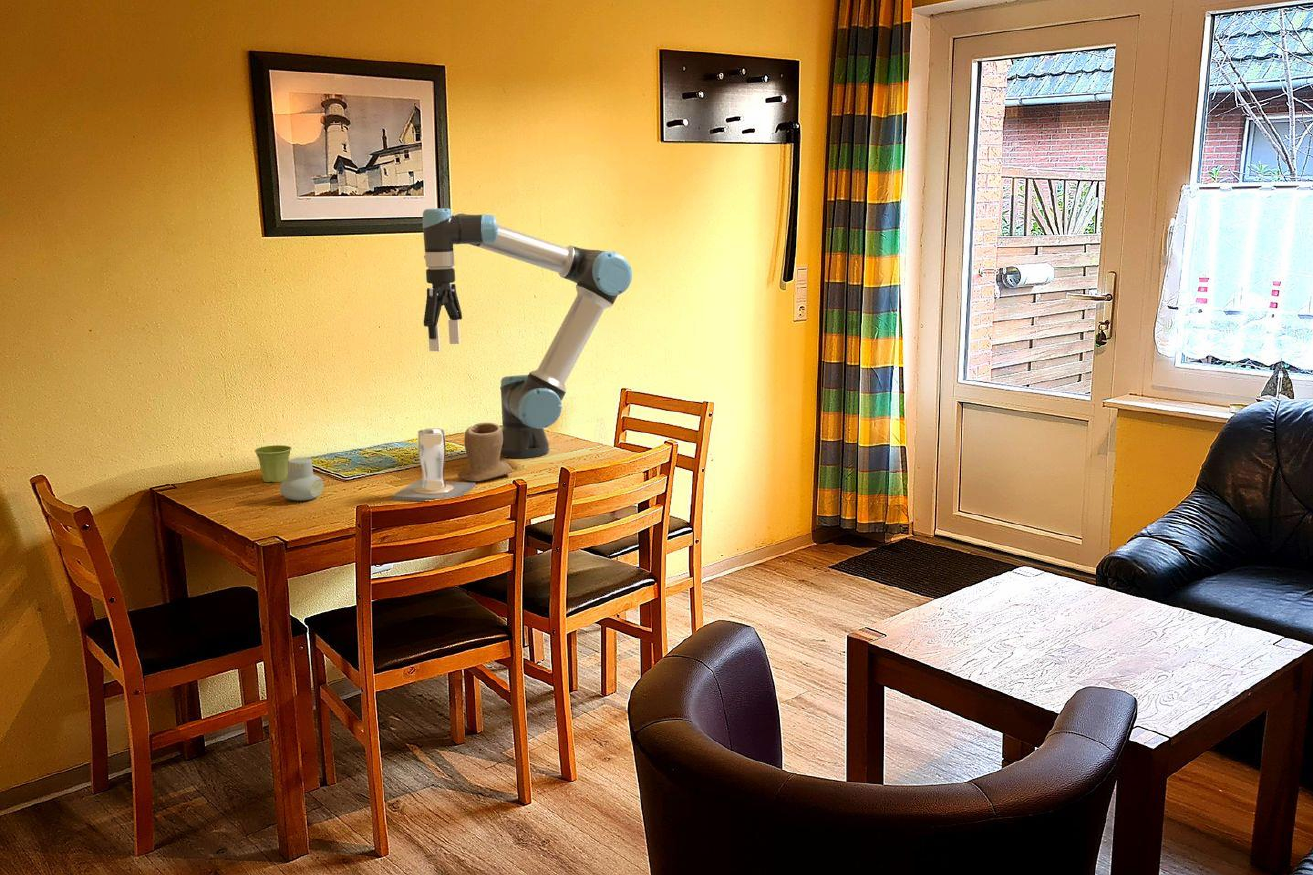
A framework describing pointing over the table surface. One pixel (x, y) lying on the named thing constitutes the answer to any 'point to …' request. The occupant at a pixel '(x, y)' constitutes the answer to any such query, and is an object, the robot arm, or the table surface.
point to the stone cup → (484, 453)
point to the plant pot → (274, 462)
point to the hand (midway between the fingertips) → (445, 347)
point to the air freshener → (301, 481)
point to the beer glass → (432, 458)
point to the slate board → (418, 494)
